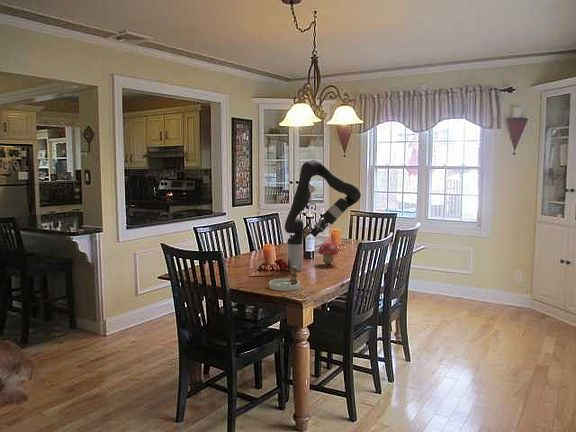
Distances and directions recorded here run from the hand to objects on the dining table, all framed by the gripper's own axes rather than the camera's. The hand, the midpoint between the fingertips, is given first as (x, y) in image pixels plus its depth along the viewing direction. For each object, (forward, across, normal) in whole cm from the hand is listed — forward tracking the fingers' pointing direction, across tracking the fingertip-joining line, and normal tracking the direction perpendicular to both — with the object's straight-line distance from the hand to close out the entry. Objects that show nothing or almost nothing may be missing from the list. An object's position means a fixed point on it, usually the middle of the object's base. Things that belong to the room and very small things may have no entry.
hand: (312, 234), depth 283 cm
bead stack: (+27, +2, +12) cm, 29 cm away
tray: (+31, +2, +9) cm, 33 cm away
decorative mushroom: (+6, -54, +35) cm, 65 cm away
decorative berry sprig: (+36, -30, +6) cm, 47 cm away
